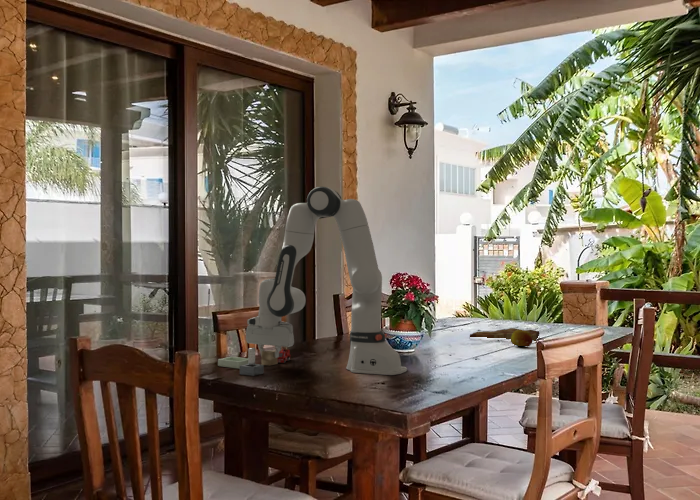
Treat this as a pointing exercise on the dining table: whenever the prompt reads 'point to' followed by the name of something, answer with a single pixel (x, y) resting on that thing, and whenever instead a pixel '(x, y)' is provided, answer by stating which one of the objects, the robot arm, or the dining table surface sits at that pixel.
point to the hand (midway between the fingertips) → (269, 356)
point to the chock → (268, 358)
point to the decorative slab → (503, 333)
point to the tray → (232, 362)
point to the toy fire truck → (284, 355)
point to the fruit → (521, 338)
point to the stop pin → (251, 357)
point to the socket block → (251, 369)
